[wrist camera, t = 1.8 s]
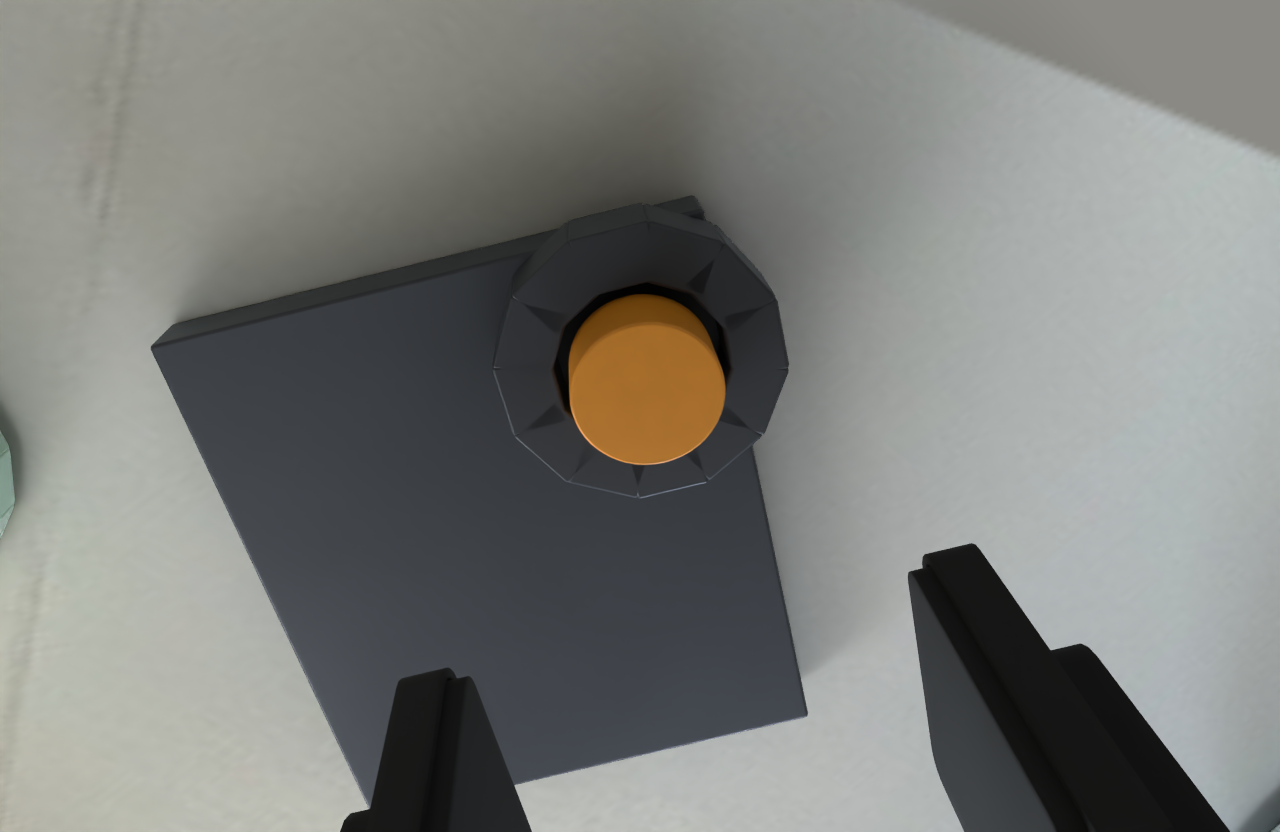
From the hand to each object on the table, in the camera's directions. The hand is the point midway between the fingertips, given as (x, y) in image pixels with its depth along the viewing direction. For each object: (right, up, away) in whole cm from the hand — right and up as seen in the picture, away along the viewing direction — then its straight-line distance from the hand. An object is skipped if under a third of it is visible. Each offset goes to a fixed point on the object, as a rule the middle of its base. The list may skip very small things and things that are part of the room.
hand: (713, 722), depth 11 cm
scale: (-4, +1, +14) cm, 15 cm away
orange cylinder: (-1, +5, +10) cm, 11 cm away
